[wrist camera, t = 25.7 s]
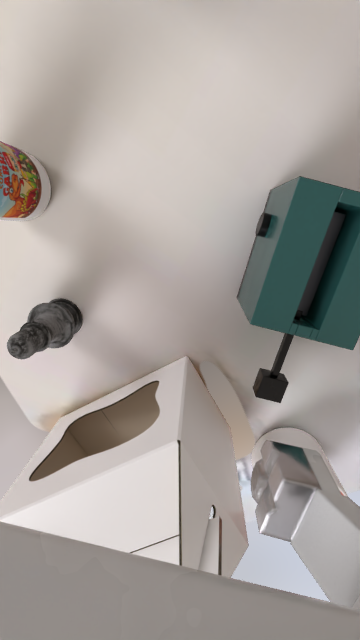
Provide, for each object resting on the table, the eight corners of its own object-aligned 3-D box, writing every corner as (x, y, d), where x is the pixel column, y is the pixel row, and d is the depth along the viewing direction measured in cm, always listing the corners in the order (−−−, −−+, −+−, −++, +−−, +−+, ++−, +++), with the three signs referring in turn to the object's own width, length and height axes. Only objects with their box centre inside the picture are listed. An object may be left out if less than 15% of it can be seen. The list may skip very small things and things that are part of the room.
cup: (236, 459, 47) (245, 519, 37) (277, 411, 44) (299, 463, 34) (290, 489, 48) (313, 556, 38) (334, 445, 45) (370, 504, 35)
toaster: (312, 317, 40) (353, 350, 29) (230, 296, 39) (241, 322, 29) (354, 212, 36) (418, 207, 25) (263, 188, 36) (290, 173, 25)
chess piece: (93, 319, 41) (52, 356, 30) (64, 346, 43) (15, 391, 31) (60, 287, 40) (5, 311, 29) (32, 316, 42) (-31, 350, 30)
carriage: (276, 393, 36) (280, 403, 34) (252, 387, 35) (255, 397, 34) (345, 216, 30) (355, 215, 28) (316, 208, 30) (325, 207, 28)
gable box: (106, 482, 49) (-3, 786, 23) (58, 418, 46) (-134, 682, 20) (232, 428, 45) (281, 724, 18) (188, 353, 42) (170, 579, 15)
